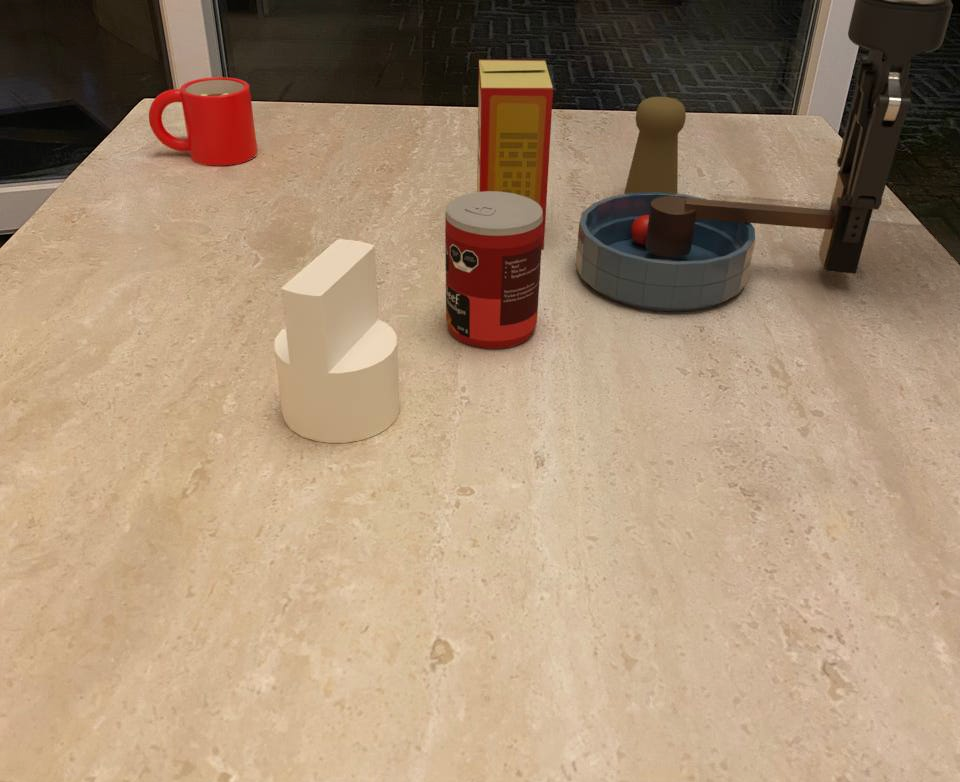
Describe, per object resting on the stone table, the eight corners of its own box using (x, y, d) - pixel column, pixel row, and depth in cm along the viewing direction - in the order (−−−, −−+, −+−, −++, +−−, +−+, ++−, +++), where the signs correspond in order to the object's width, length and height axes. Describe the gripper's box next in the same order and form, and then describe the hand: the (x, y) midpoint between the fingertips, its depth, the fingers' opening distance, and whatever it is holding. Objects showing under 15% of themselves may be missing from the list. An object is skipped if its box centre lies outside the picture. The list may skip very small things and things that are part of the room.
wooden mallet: (849, 254, 97) (871, 173, 92) (856, 274, 94) (879, 191, 89) (645, 237, 99) (656, 157, 94) (644, 255, 96) (655, 174, 91)
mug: (159, 145, 122) (146, 78, 117) (258, 141, 124) (250, 75, 119) (151, 168, 116) (138, 99, 111) (256, 164, 117) (247, 96, 113)
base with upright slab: (369, 453, 73) (360, 306, 65) (260, 427, 75) (239, 282, 68) (417, 391, 79) (414, 251, 72) (316, 369, 82) (303, 231, 74)
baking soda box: (543, 249, 101) (553, 85, 91) (478, 248, 100) (481, 84, 91) (537, 211, 108) (545, 56, 98) (476, 211, 108) (479, 55, 98)
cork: (662, 188, 114) (675, 88, 107) (687, 208, 109) (702, 106, 103) (613, 193, 112) (624, 93, 106) (637, 214, 108) (649, 111, 101)
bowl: (744, 247, 102) (753, 200, 99) (746, 323, 89) (757, 272, 86) (585, 232, 104) (589, 185, 101) (566, 304, 91) (570, 253, 88)
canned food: (448, 306, 91) (447, 189, 84) (536, 308, 91) (542, 191, 84) (443, 349, 85) (442, 226, 78) (537, 352, 85) (544, 229, 78)
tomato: (671, 237, 99) (659, 216, 101) (656, 224, 97) (644, 203, 98) (647, 256, 100) (636, 235, 102) (632, 244, 98) (620, 223, 100)
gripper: (847, -31, 88) (792, 222, 102) (870, 14, 75) (803, 296, 89) (936, -26, 87) (868, 228, 101) (975, 20, 74) (890, 305, 88)
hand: (838, 260), depth 95 cm, fingers closed on wooden mallet, 4 cm apart
